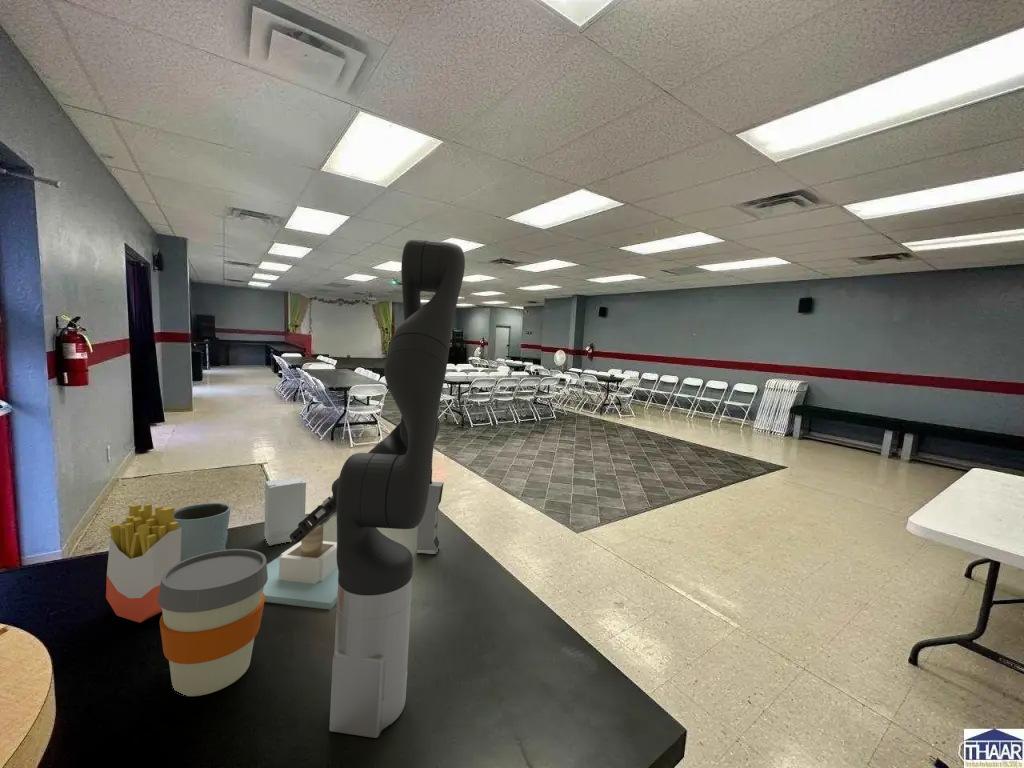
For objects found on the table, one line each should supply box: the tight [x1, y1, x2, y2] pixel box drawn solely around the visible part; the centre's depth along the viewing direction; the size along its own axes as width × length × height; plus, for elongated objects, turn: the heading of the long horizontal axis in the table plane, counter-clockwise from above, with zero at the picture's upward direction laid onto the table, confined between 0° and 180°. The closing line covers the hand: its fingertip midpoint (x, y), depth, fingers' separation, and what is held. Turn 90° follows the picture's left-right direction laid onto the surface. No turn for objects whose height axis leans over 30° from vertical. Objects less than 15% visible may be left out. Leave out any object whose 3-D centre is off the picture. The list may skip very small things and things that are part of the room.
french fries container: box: [105, 503, 182, 624], centre depth 70 cm, size 5×11×18 cm, turn 74°
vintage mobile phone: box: [416, 466, 444, 551], centre depth 100 cm, size 4×5×25 cm
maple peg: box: [301, 521, 325, 558], centre depth 86 cm, size 4×4×10 cm
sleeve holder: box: [263, 540, 338, 610], centre depth 86 cm, size 20×20×6 cm
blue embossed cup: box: [174, 502, 232, 562], centre depth 87 cm, size 10×10×12 cm
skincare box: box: [264, 476, 307, 545], centre depth 102 cm, size 8×6×15 cm
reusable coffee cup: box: [158, 548, 268, 697], centre depth 58 cm, size 12×13×15 cm
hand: (305, 531), depth 86 cm, fingers open, 8 cm apart
